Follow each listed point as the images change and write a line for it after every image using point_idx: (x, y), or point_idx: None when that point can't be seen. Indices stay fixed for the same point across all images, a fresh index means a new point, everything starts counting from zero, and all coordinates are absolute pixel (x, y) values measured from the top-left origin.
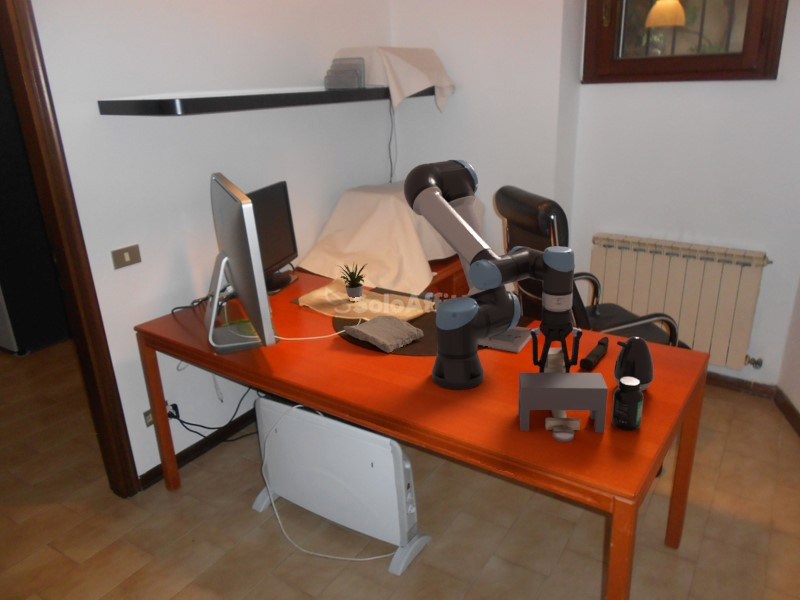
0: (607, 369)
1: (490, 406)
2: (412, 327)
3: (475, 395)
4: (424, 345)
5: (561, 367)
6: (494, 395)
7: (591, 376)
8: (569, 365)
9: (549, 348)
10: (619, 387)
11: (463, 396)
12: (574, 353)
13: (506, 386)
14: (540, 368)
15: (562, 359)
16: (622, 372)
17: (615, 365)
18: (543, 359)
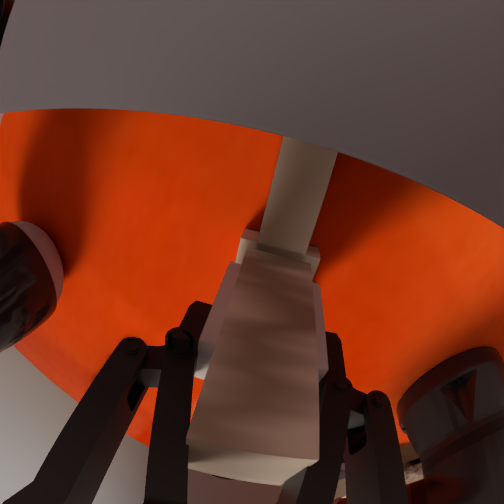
0: (88, 342)
1: (487, 259)
2: (411, 480)
3: (478, 320)
4: (410, 456)
5: (227, 348)
6: (445, 314)
7: (47, 36)
8: (169, 349)
9: (298, 499)
10: (4, 13)
11: (498, 319)
12: (106, 409)
13: (386, 351)
14: (342, 375)
15: (208, 399)
16: (18, 269)
17: (33, 311)
18: (338, 423)
